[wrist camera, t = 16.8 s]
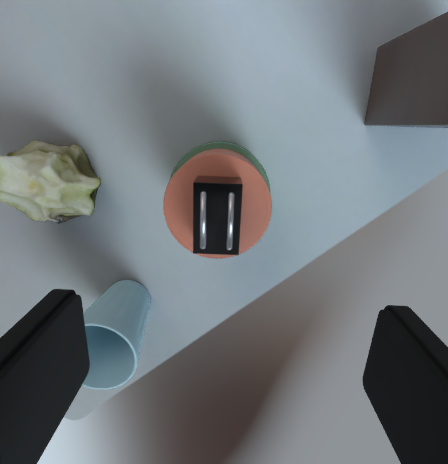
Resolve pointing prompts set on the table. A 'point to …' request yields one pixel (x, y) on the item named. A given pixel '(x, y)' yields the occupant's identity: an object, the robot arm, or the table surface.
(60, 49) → the table surface
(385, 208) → the table surface
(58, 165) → the fruit
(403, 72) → the clip stand
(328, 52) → the table surface
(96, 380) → the cup
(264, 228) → the cup stack
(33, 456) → the robot arm
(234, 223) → the clip
